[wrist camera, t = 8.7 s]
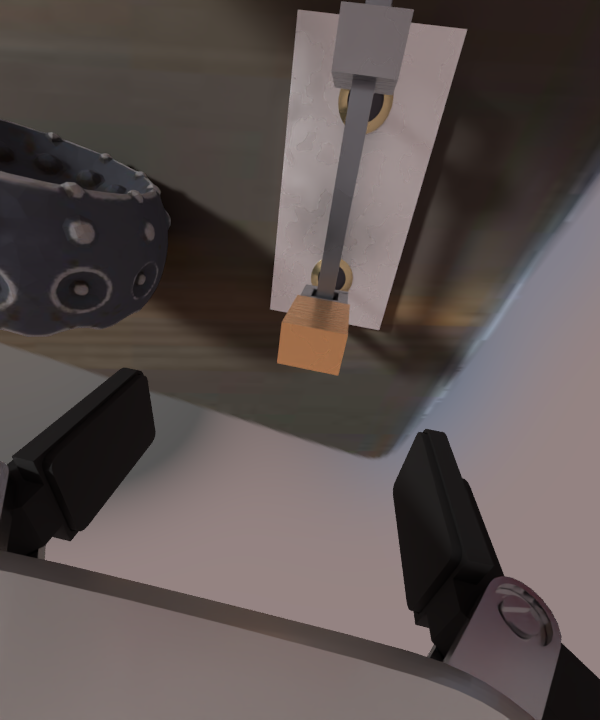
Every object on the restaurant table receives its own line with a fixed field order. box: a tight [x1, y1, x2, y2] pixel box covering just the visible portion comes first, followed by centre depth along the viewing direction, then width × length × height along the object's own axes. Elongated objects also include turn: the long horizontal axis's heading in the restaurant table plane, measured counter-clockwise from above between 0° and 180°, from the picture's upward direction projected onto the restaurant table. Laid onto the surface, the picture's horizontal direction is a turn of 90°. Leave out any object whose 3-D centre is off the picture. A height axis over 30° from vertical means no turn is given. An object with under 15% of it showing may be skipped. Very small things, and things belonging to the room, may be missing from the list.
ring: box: [0, 119, 171, 337], centre depth 24 cm, size 11×20×20 cm, turn 69°
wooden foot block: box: [277, 284, 350, 375], centre depth 23 cm, size 3×4×15 cm
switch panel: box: [270, 0, 467, 330], centre depth 23 cm, size 23×12×12 cm, turn 172°
